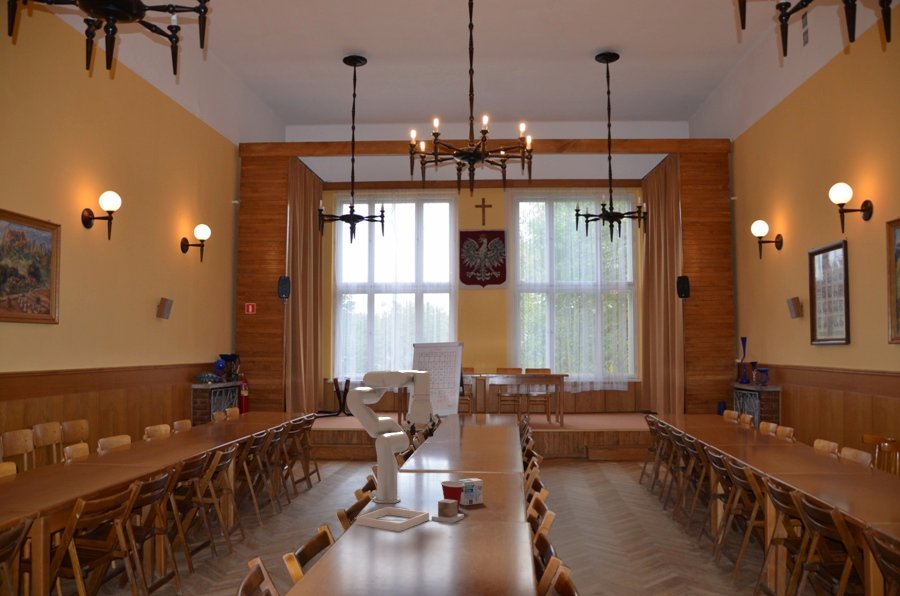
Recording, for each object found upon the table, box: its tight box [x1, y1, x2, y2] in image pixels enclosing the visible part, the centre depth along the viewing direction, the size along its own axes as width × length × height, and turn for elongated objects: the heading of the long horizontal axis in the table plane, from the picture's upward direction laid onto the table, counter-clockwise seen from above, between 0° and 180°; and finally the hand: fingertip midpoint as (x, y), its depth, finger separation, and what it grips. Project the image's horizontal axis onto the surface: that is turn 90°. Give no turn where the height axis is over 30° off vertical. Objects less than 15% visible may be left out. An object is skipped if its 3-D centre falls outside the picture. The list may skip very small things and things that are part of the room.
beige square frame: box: [356, 506, 430, 532], centre depth 293 cm, size 22×22×3 cm
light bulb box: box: [456, 477, 484, 506], centre depth 330 cm, size 11×7×11 cm, turn 122°
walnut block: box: [437, 498, 458, 518], centre depth 299 cm, size 6×6×6 cm
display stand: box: [431, 513, 465, 524], centre depth 299 cm, size 10×10×2 cm
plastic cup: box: [440, 480, 465, 511], centre depth 316 cm, size 11×11×12 cm
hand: (421, 436), depth 322 cm, fingers open, 9 cm apart
